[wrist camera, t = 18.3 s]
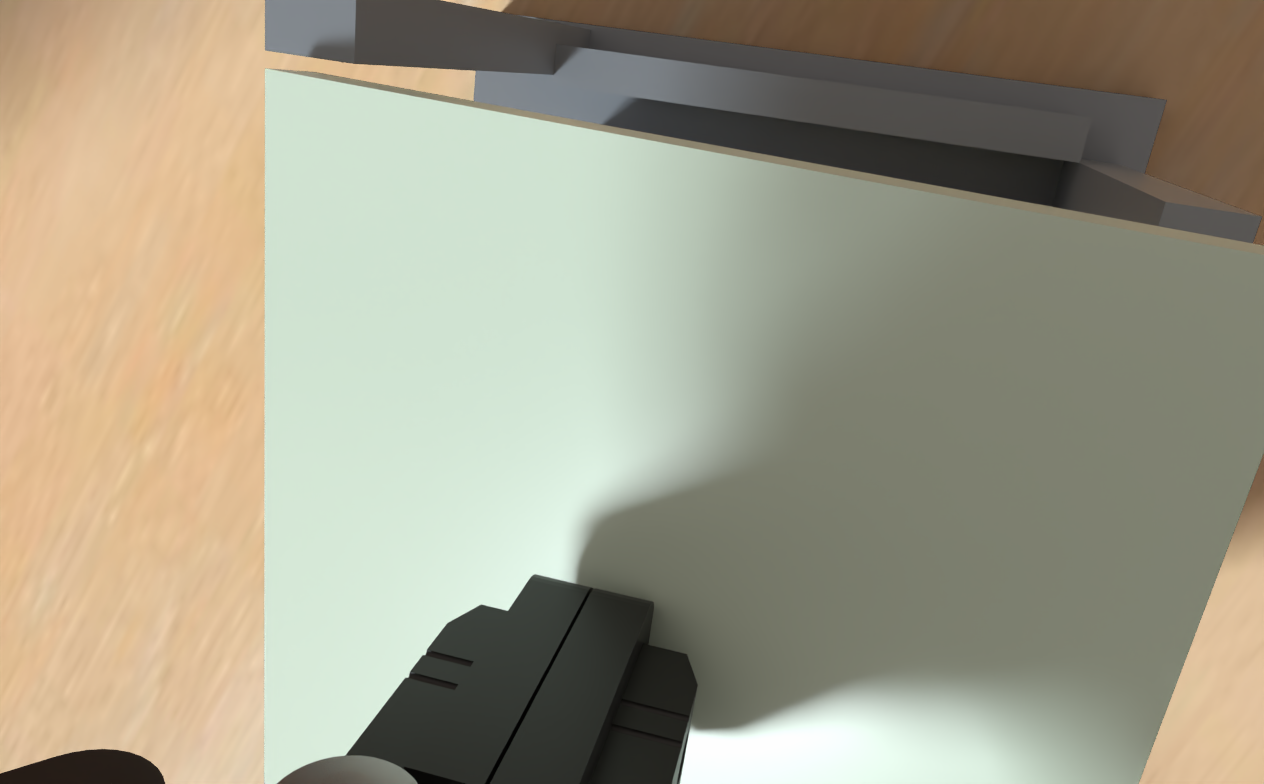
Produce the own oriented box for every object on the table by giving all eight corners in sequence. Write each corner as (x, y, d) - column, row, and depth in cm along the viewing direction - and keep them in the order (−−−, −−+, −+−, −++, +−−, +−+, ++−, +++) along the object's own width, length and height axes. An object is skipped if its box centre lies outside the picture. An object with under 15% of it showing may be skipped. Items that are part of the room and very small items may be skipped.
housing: (456, 554, 28) (204, 796, 18) (498, 13, 23) (183, -46, 13) (976, 698, 24) (1005, 1091, 15) (1155, 99, 19) (1372, 102, 10)
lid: (315, 733, 18) (245, 775, 17) (330, 70, 14) (241, 64, 13) (976, 1184, 12) (942, 1301, 11) (1324, 249, 8) (1333, 268, 7)
